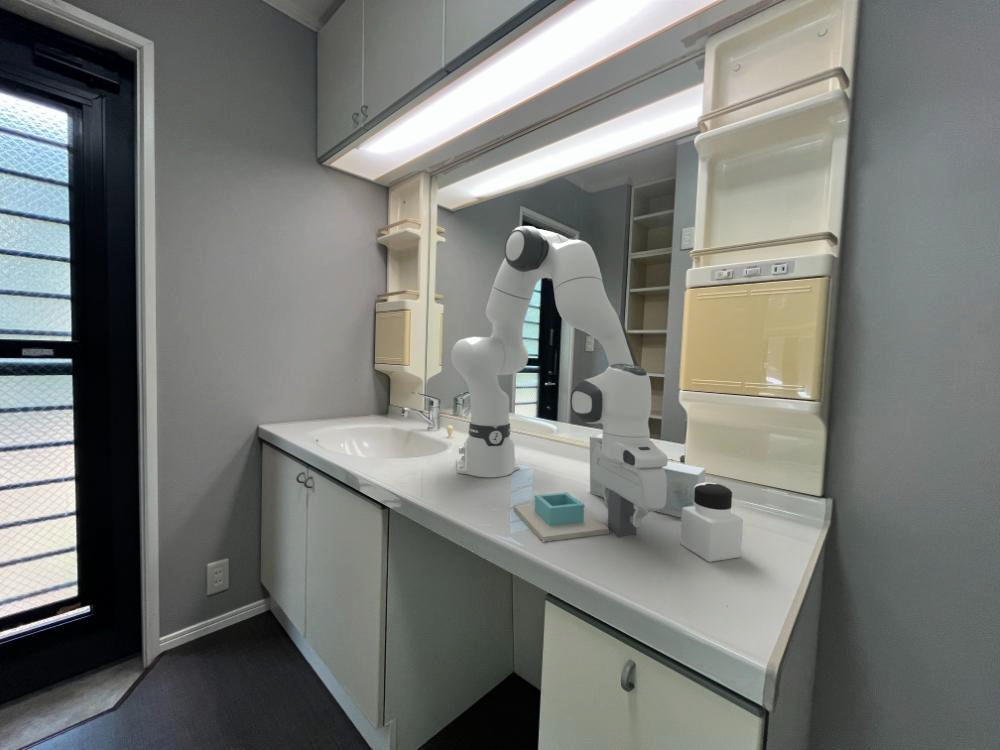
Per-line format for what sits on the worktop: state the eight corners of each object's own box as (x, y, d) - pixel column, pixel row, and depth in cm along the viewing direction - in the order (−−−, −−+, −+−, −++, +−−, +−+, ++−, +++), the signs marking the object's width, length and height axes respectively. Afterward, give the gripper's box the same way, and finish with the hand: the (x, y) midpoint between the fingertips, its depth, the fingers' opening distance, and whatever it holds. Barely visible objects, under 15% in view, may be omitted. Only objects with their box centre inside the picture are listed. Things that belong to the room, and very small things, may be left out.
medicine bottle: (741, 557, 73) (745, 490, 72) (708, 563, 71) (712, 493, 70) (710, 539, 79) (713, 478, 79) (679, 544, 77) (682, 480, 77)
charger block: (607, 528, 83) (609, 482, 83) (624, 526, 85) (626, 481, 84) (618, 537, 80) (620, 489, 79) (636, 535, 81) (638, 487, 80)
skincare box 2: (646, 509, 94) (648, 464, 94) (656, 502, 99) (658, 458, 99) (695, 522, 88) (698, 473, 87) (703, 513, 92) (706, 467, 92)
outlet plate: (513, 510, 92) (514, 490, 92) (570, 504, 96) (571, 485, 96) (542, 542, 77) (543, 518, 77) (608, 533, 81) (609, 511, 81)
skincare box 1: (629, 498, 101) (632, 438, 100) (612, 503, 98) (615, 440, 97) (603, 488, 108) (605, 432, 107) (587, 492, 105) (589, 434, 104)
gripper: (584, 437, 90) (582, 499, 91) (644, 461, 71) (640, 540, 71) (609, 435, 92) (607, 496, 93) (674, 459, 73) (670, 536, 73)
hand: (622, 516), depth 82 cm, fingers open, 7 cm apart
